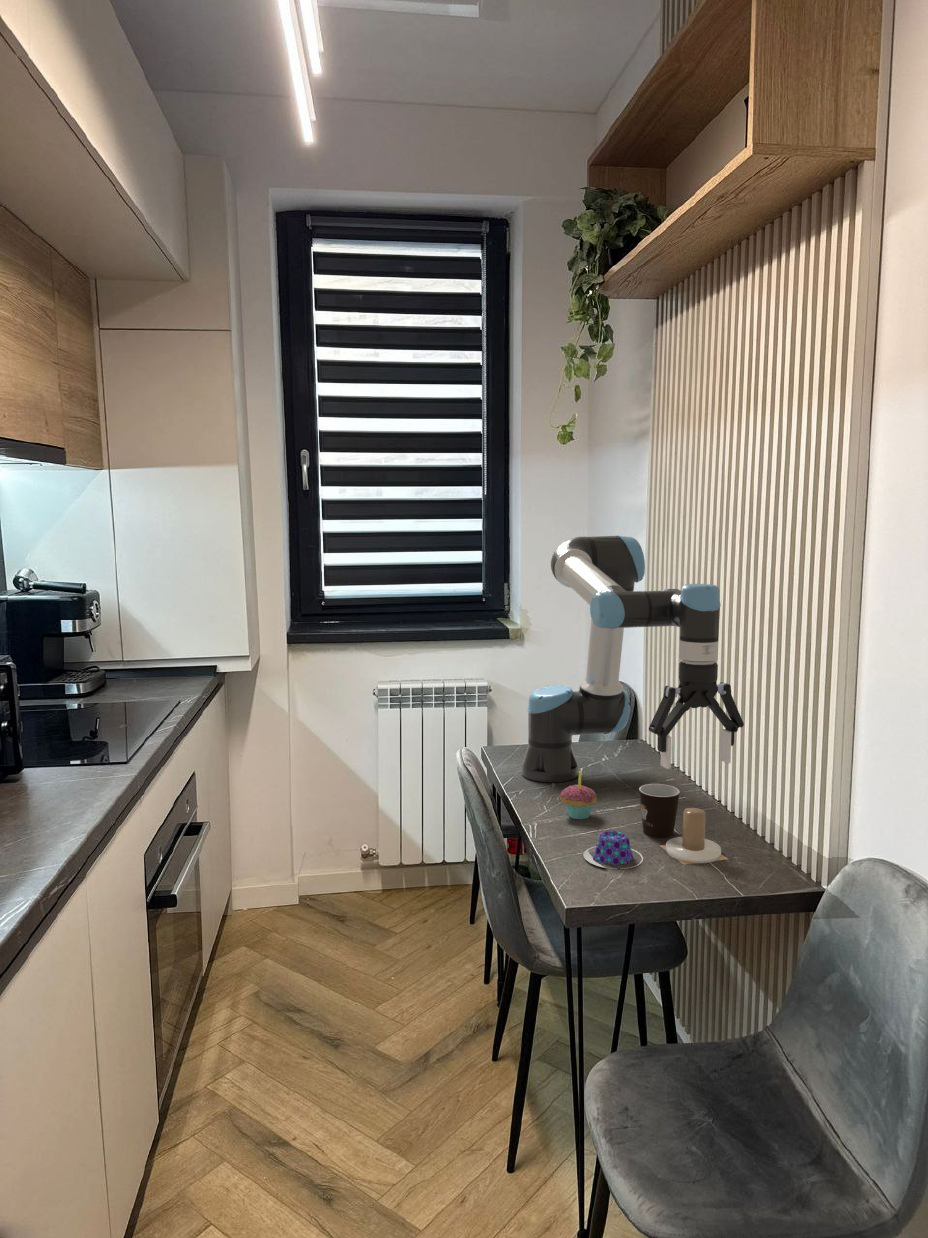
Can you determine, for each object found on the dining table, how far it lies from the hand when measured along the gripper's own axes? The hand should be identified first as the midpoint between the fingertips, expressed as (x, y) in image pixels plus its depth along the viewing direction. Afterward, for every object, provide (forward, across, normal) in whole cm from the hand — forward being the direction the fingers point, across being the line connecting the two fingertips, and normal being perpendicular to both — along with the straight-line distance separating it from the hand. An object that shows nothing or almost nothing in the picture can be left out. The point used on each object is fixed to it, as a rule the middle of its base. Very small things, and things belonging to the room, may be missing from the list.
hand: (695, 764), depth 171 cm
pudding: (+20, -17, +3) cm, 26 cm away
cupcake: (+19, -14, +27) cm, 36 cm away
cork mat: (+19, 0, 0) cm, 19 cm away
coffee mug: (+19, -1, +13) cm, 23 cm away
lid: (+19, 0, 0) cm, 19 cm away
